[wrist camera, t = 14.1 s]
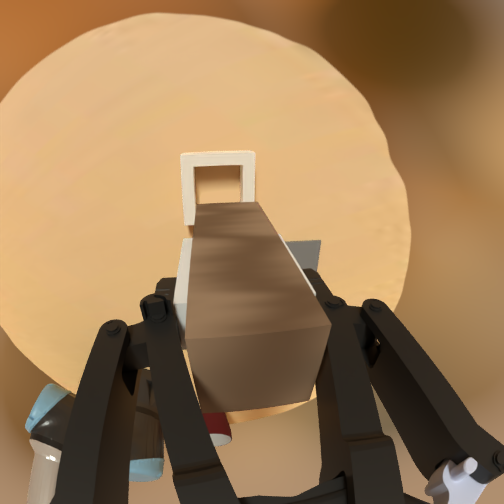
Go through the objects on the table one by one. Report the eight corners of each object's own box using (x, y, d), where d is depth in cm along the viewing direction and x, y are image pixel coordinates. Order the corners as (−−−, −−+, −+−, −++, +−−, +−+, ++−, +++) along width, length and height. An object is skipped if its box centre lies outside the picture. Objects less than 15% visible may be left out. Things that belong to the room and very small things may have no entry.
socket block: (186, 217, 37) (184, 225, 34) (182, 152, 33) (180, 155, 30) (250, 214, 38) (254, 221, 35) (251, 150, 34) (255, 152, 31)
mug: (240, 408, 60) (246, 442, 51) (216, 419, 61) (220, 451, 52) (211, 393, 55) (215, 430, 47) (187, 405, 57) (188, 439, 48)
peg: (200, 258, 21) (201, 413, 9) (196, 204, 19) (184, 339, 7) (256, 255, 22) (309, 400, 10) (257, 201, 20) (331, 324, 8)
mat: (274, 281, 44) (274, 282, 44) (276, 242, 41) (277, 243, 40) (314, 278, 45) (315, 279, 45) (320, 240, 42) (320, 240, 41)
